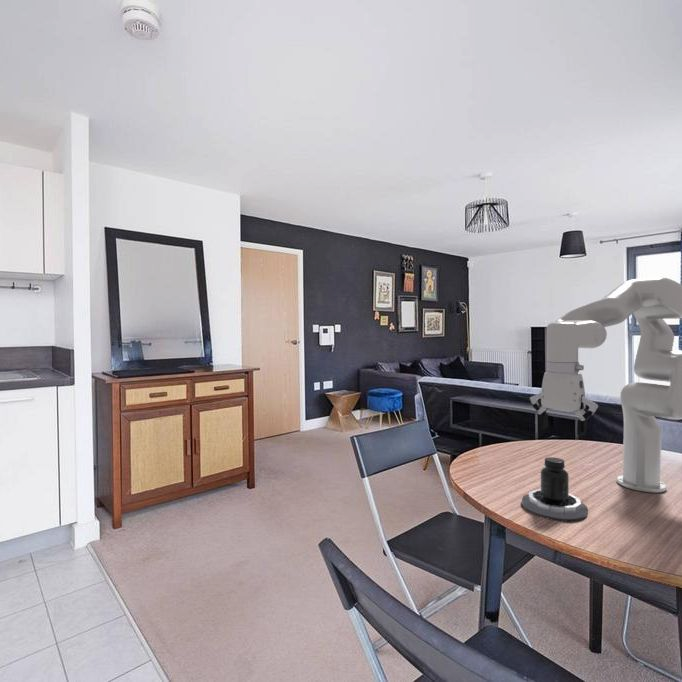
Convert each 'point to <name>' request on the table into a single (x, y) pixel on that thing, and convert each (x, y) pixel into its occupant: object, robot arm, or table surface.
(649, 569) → the table surface
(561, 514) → the rosette plate
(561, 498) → the supplement bottle
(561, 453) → the table surface
